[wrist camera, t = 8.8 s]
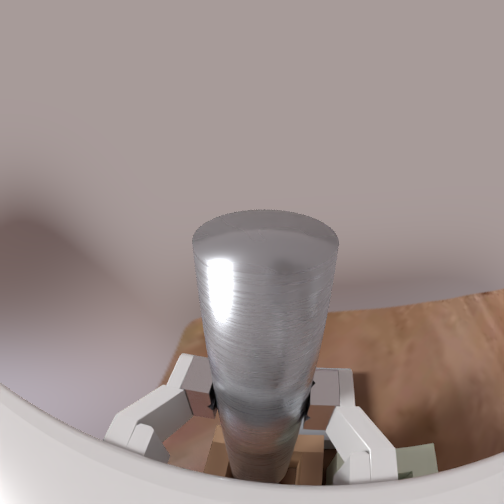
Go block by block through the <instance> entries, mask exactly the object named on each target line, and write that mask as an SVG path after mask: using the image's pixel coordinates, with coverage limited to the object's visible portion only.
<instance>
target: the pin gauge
mask: <svg viewBox="0 0 504 504" xmlns="http://www.w3.org/2000/svg"><path fill="white" fill-rule="evenodd" d="M192 244H193V253H194V262H195V270H196V278H197V286H198V293H199V301H200V308H201V315H202V321H203V328H204V334H205V341H206V347H207V353H208V359H209V365H210V370H211V376H212V381H213V387H214V392H215V397H216V403H217V408H218V413H219V417H220V422H221V427H222V432H223V436H224V441H225V445H226V450H227V454H228V458H229V463H230V467H231V471H232V474H233V476H234V477H235V479H240V480H247V481H255V482H264V483H274V484H278V483H279V482H280V481H281V480H282V479H283V478H284V476H285V475H286V472H287V469H288V466H289V463H290V460H291V457H292V454H293V451H294V447H295V444H296V441H297V438H298V434H299V431H300V427H301V424H302V420H303V417H304V413H305V409H306V406H307V402H308V398H309V394H310V390H311V386H312V382H313V378H314V374H315V370H316V365H317V361H318V357H319V352H320V348H321V343H322V338H323V333H324V328H325V323H326V318H327V313H328V308H329V302H330V296H331V291H332V285H333V279H334V272H335V265H336V260H337V253H338V246H339V241H338V237H337V235H336V234H335V232H334V231H333V230H332V229H331V228H330V227H329V226H327V225H326V224H324V223H323V222H321V221H319V220H317V219H314V218H312V217H309V216H306V215H302V214H298V213H294V212H287V211H280V210H248V211H240V212H234V213H230V214H226V215H222V216H219V217H216V218H214V219H212V220H210V221H208V222H206V223H204V224H203V225H202V226H200V227H199V229H197V230H196V232H195V233H194V235H193V239H192Z"/></svg>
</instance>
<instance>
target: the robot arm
mask: <svg viewBox="0 0 504 504" xmlns="http://www.w3.org/2000/svg"><path fill="white" fill-rule="evenodd" d="M217 409H218V408H217V403H216V397H215V392H214V387H213V381H212V376H211V370H210V365H209V359H208V358H206V357H201V356H195V355H190V354H184V353H182V354H181V355H180V357H179V359H178V361H177V363H176V365H175V368H174V370H173V372H172V374H171V376H170V379H169V381H168V383H167V385H162V386H160V387H159V388H157V389H156V390H154V391H153V392H151V393H150V394H148V395H146V396H145V397H143V398H141V399H140V400H138V401H137V402H135V403H134V404H132V405H130V406H129V407H127V408H125V409H124V410H122V411H121V412H119V413H117V414H116V416H115V418H114V419H113V421H112V423H111V425H110V427H109V429H108V431H107V433H106V435H105V437H104V439H103V441H102V440H100V439H98V438H95V437H93V436H91V435H89V434H86V433H84V432H82V431H80V430H78V429H76V428H74V427H72V426H70V425H68V424H66V423H64V422H62V421H60V420H58V419H57V418H55V417H53V416H51V415H50V414H48V413H46V412H44V411H43V410H41V409H39V408H38V407H36V406H34V405H33V404H31V403H29V402H28V401H26V400H25V399H23V398H22V397H20V396H19V395H17V394H16V393H14V392H13V391H11V390H10V389H9V388H7V387H6V386H4V385H3V384H2V383H0V504H504V452H501V453H499V454H496V455H493V456H491V457H488V458H485V459H482V460H479V461H476V462H473V463H470V464H467V465H464V466H460V467H457V468H453V469H449V470H445V471H441V472H437V473H433V474H428V475H423V476H418V477H413V478H407V479H401V480H398V471H397V460H396V450H395V447H394V446H393V445H392V444H391V443H390V442H389V440H388V439H387V438H386V437H385V436H384V435H383V433H382V432H381V431H380V430H379V429H378V428H377V426H376V425H375V424H374V423H373V422H372V421H371V419H370V418H369V417H368V416H367V415H366V414H365V412H364V411H363V410H362V409H361V408H360V406H355V394H354V384H353V374H352V371H351V370H337V369H316V370H315V374H314V378H313V382H312V386H311V390H310V394H309V398H308V402H307V406H306V409H305V413H304V420H303V429H308V430H326V431H325V432H326V433H327V435H328V437H329V438H330V440H331V442H332V443H333V445H334V446H335V448H336V450H337V451H338V453H339V454H340V456H341V458H342V459H343V461H344V462H345V463H344V464H343V465H342V466H341V468H340V469H339V470H338V471H337V473H336V474H335V475H334V476H333V485H329V486H313V485H287V484H274V483H264V482H255V481H247V480H240V479H233V478H227V477H222V476H217V475H211V474H207V473H202V472H197V471H193V470H189V469H185V468H181V467H177V466H174V465H170V464H167V463H168V460H169V458H170V454H169V453H168V451H167V450H166V448H165V447H164V445H163V444H162V442H164V441H165V440H166V439H167V438H168V437H170V436H171V435H172V434H173V433H174V432H176V431H177V430H178V429H179V428H180V427H181V426H183V425H184V424H185V423H186V422H187V421H188V420H190V419H191V418H192V417H193V415H194V416H200V417H205V418H211V419H215V416H216V412H217Z"/></svg>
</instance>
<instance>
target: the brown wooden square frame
mask: <svg viewBox="0 0 504 504" xmlns="http://www.w3.org/2000/svg"><path fill="white" fill-rule="evenodd" d="M323 454H324V435H301V434H298V438H297V441H296V444H295V447H294V451H293V454H292V457H291V460H290V463H289V466H288V467H290V468H297V469H296V478H295V485H313V486H322V474H323ZM203 473H207V474H211V475H217V476H222V477H227V478H232V477H233V474H232V471H231V467H230V463H229V458H228V454H227V450H226V445H225V441H224V436H223V432H222V427H221V426H220V425H217V427H216V430H215V434H214V437H213V441H212V444H211V448H210V451H209V455H208V458H207V462H206V465H205V469H204V472H203Z"/></svg>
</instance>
